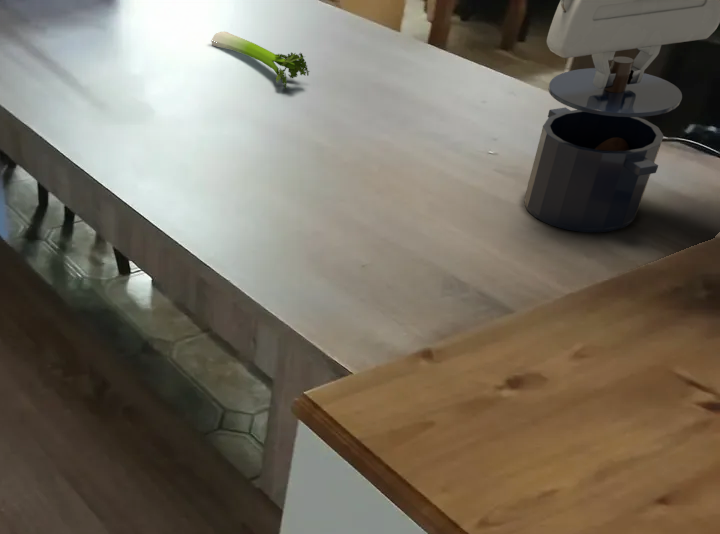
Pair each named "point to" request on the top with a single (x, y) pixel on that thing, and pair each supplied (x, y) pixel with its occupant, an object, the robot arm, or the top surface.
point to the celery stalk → (263, 55)
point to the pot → (591, 170)
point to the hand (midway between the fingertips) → (616, 84)
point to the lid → (615, 92)
